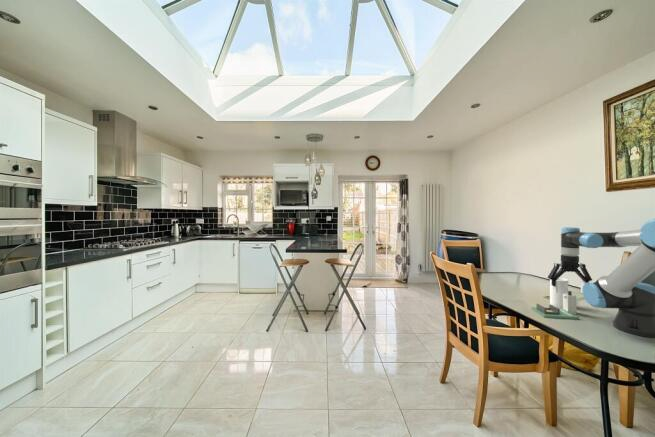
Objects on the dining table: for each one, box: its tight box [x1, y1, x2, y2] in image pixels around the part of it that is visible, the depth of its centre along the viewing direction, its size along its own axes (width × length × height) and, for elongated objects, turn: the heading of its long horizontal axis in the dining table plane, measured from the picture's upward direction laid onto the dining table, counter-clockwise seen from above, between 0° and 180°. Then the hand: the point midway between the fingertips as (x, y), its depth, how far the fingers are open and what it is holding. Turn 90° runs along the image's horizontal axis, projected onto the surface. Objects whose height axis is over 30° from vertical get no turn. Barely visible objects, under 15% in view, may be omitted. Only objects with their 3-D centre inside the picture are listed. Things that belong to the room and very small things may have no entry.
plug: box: [562, 290, 577, 315], centre depth 146 cm, size 4×4×12 cm
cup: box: [549, 277, 569, 309], centre depth 157 cm, size 8×8×16 cm
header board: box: [531, 303, 580, 320], centre depth 144 cm, size 12×16×4 cm
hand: (569, 292), depth 146 cm, fingers open, 13 cm apart
